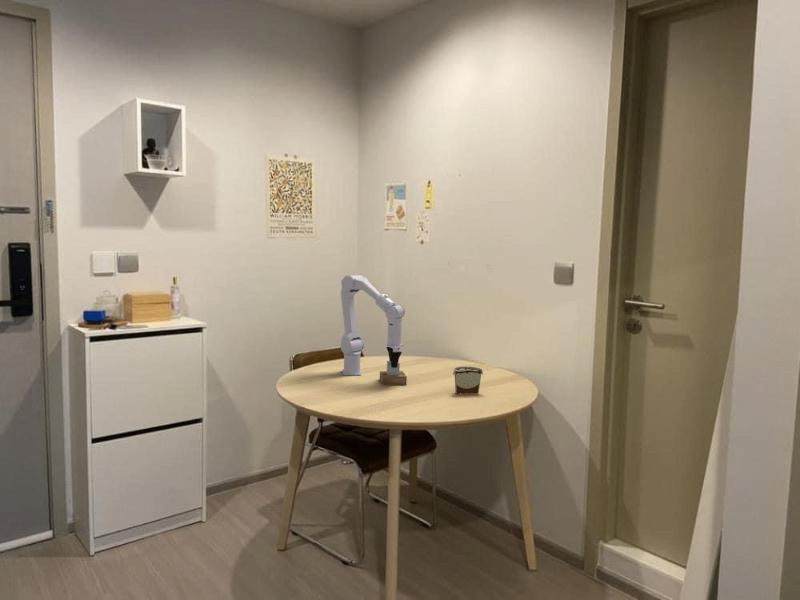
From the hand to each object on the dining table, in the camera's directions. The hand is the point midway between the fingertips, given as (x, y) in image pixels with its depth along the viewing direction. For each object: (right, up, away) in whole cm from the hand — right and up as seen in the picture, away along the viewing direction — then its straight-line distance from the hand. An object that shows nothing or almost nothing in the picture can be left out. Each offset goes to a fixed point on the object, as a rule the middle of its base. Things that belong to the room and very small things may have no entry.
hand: (393, 365), depth 253 cm
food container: (+29, -10, -11) cm, 33 cm away
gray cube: (0, -4, 0) cm, 4 cm away
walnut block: (0, -8, +1) cm, 8 cm away
